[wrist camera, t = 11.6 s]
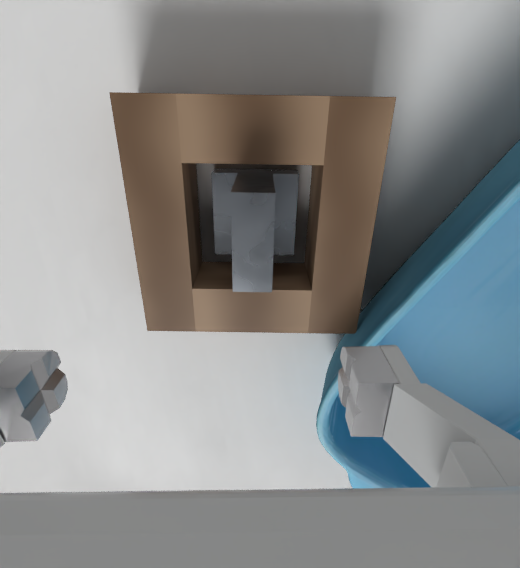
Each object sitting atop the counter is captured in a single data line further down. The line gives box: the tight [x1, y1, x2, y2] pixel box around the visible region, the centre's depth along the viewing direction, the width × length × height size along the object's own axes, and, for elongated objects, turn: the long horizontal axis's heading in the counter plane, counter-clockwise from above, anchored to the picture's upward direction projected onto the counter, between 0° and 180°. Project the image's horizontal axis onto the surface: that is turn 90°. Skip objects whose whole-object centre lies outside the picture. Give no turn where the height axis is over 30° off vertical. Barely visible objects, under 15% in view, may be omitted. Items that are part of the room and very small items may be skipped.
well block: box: [110, 93, 396, 334], centre depth 20 cm, size 13×13×4 cm
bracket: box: [211, 169, 299, 292], centre depth 19 cm, size 5×5×6 cm
